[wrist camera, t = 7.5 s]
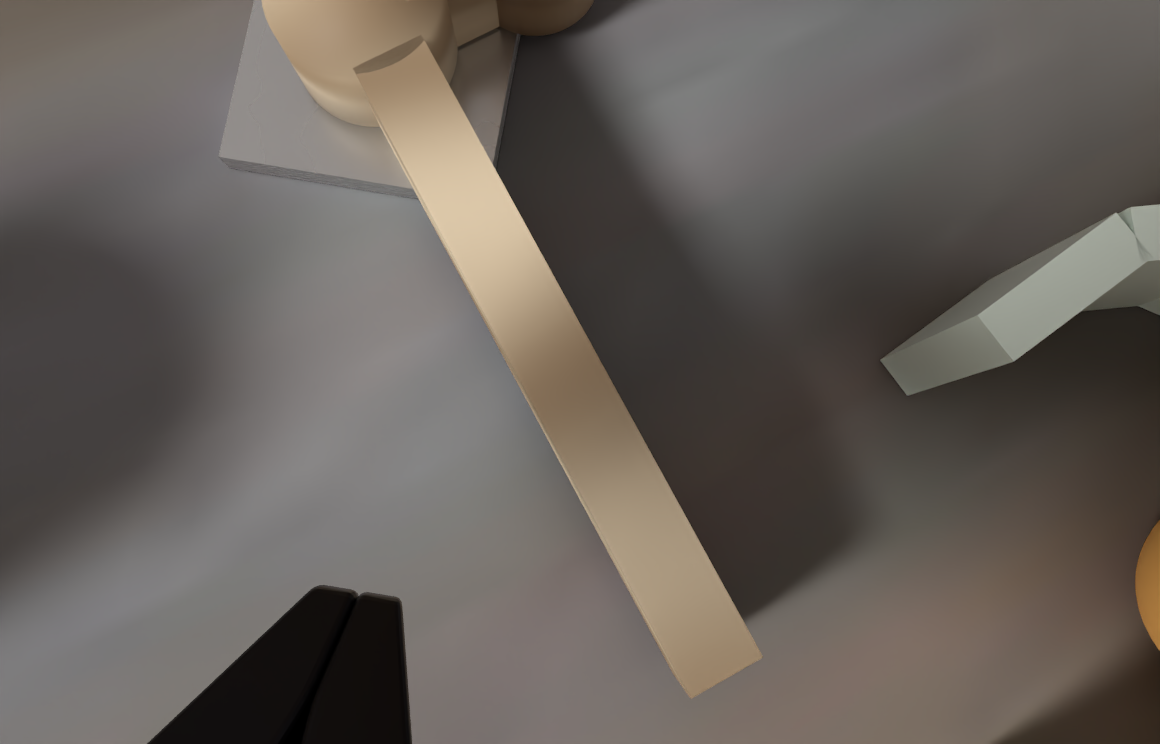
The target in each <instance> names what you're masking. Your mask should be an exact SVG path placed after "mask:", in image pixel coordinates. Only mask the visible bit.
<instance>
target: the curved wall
mask: <svg viewBox="0 0 1160 744" xmlns="http://www.w3.org/2000/svg"><path fill="white" fill-rule="evenodd" d="M1131 306H1139V307H1141V308H1144V309H1146V310H1148V311H1151V312H1153V313H1155V314H1157V315H1160V204H1159V205H1148V206H1137V207H1130V208H1128V209H1126V210H1124V211H1122V212H1120V213H1118V214H1117V213H1114V214H1112V215H1110V216H1108V217H1107V218H1105V219H1103V220H1101V221H1099V222H1097V223H1095V224H1093V225H1091V226H1090V227H1088V228H1086V229H1084V230H1082V231H1080V232H1078V233H1076V234H1074V235H1073V236H1071V237H1069V238H1067V239H1065V240H1063V241H1061V242H1059V243H1057V244H1056V245H1054V246H1052V247H1050V248H1048V249H1046V250H1044V251H1042V252H1040V253H1039V254H1037V255H1035V256H1033V257H1031V258H1029V259H1027V260H1025V261H1023V262H1022V263H1020V264H1018V265H1016V266H1014V267H1012V268H1010V269H1008V270H1006V271H1005V272H1003V273H1001V274H999V275H997V276H995V277H993V278H991V279H989V280H988V281H987V282H985V283H984V284H982V285H981V286H980V287H978V288H977V289H976V290H974V291H973V292H972V293H970V294H969V295H968V296H966V297H965V298H963V299H962V300H961V301H959V302H958V303H957V304H955V305H954V306H953V307H951V308H950V309H949V310H947V311H946V312H944V313H943V314H942V315H940V316H939V317H938V318H936V319H935V320H934V321H932V322H931V323H930V324H928V325H927V326H925V327H924V328H923V329H921V330H920V331H919V332H917V333H916V334H915V335H913V336H912V337H911V338H909V339H908V340H906V341H905V342H904V343H902V344H901V345H900V346H898V347H897V348H896V349H894V350H893V351H892V352H890V353H889V354H887V355H886V356H885V357H883V358H882V359H881V360H880V361H881V362H882V363H883V365H884V366H885V367H886V369H887V370H888V371H889V373H890V374H891V375H892V376H893V378H894V379H895V380H896V382H897V383H898V384H899V386H900V387H901V388H902V389H903V391H904V392H905V393H906V395H907V396H908V395H912V394H915V393H918V392H921V391H924V390H927V389H930V388H933V387H936V386H940V385H943V384H946V383H949V382H952V381H955V380H958V379H961V378H964V377H968V376H971V375H974V374H977V373H980V372H983V371H986V370H989V369H993V368H996V367H999V366H1002V365H1005V364H1008V363H1011V362H1014V361H1015V360H1017V359H1018V358H1019V357H1021V356H1022V355H1023V354H1025V353H1026V352H1027V351H1029V350H1030V349H1031V348H1033V347H1034V346H1035V345H1037V344H1038V343H1039V342H1041V341H1042V340H1043V339H1045V338H1046V337H1047V336H1049V335H1050V334H1051V333H1053V332H1054V331H1055V330H1057V329H1058V328H1059V327H1061V326H1062V325H1063V324H1065V323H1066V322H1067V321H1069V320H1070V319H1071V318H1073V317H1074V316H1075V315H1077V314H1078V313H1079V312H1081V311H1090V310H1100V309H1110V308H1121V307H1131Z"/></svg>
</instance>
